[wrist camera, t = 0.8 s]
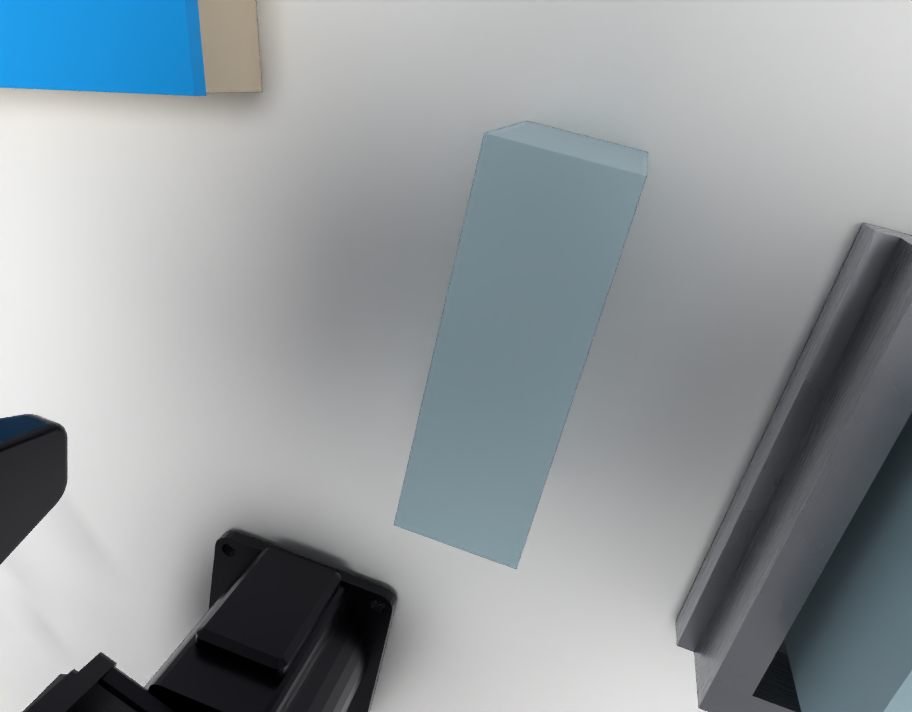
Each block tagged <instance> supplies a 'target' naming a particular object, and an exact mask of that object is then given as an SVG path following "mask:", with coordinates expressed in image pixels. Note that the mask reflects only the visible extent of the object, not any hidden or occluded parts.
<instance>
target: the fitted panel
mask: <svg viewBox="0 0 912 712" xmlns="http://www.w3.org/2000/svg"><path fill="white" fill-rule="evenodd" d="M784 641H785V646H786V650H787V654H788V658H789V662H790V666H791V671H792V675H793V679H794V683H795V687H796V691H797V696H798V700H799V704H800V708H801V712H912V413H911V415H910V416H909V418H908V420H907V422H906V424H905V425H904V427H903V429H902V431H901V432H900V434H899V436H898V438H897V440H896V441H895V443H894V445H893V447H892V448H891V450H890V452H889V454H888V456H887V457H886V459H885V461H884V463H883V464H882V466H881V468H880V470H879V471H878V473H877V475H876V477H875V479H874V480H873V482H872V484H871V486H870V487H869V489H868V491H867V493H866V495H865V496H864V498H863V500H862V502H861V503H860V505H859V507H858V509H857V511H856V512H855V514H854V516H853V518H852V519H851V521H850V523H849V525H848V526H847V528H846V530H845V532H844V534H843V535H842V537H841V539H840V541H839V542H838V544H837V546H836V548H835V550H834V551H833V553H832V555H831V557H830V558H829V560H828V562H827V564H826V565H825V567H824V569H823V571H822V573H821V574H820V576H819V578H818V580H817V581H816V583H815V585H814V587H813V589H812V590H811V592H810V594H809V596H808V597H807V599H806V601H805V603H804V605H803V606H802V608H801V610H800V612H799V613H798V615H797V617H796V619H795V620H794V622H793V624H792V626H791V628H790V629H789V631H788V633H787V635H786V636H785V638H784Z"/></svg>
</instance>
